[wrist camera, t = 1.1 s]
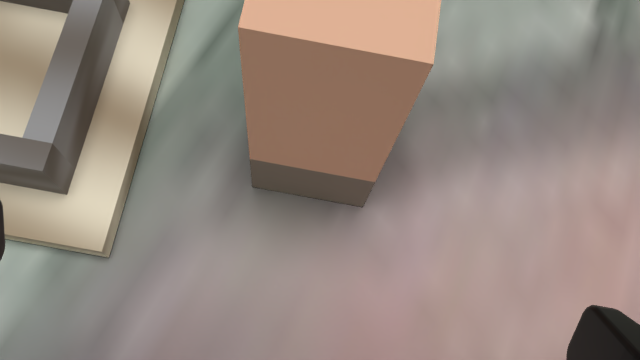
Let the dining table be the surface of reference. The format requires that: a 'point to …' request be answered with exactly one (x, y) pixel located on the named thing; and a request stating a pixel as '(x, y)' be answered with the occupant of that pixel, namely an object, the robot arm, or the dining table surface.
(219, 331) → the dining table surface
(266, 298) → the dining table surface
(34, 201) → the square socket base
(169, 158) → the dining table surface
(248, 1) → the brown rectangular block
